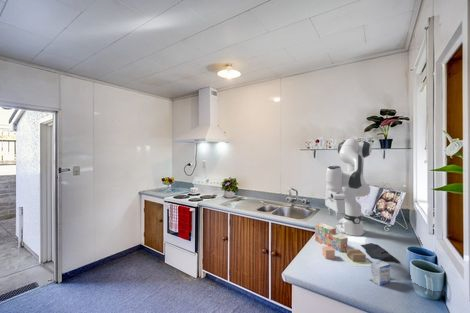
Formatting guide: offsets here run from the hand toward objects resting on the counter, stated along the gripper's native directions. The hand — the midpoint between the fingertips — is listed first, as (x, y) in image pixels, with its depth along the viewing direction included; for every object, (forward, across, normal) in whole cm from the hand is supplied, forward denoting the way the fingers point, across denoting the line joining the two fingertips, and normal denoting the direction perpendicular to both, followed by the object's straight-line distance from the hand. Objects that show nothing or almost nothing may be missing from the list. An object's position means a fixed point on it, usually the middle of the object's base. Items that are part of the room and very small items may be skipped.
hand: (334, 217), depth 128 cm
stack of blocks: (+24, -18, +4) cm, 30 cm away
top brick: (+24, 0, -3) cm, 25 cm away
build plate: (+24, +1, +12) cm, 27 cm away
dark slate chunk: (+25, -9, +29) cm, 39 cm away
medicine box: (+26, +20, +14) cm, 36 cm away
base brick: (+24, +1, +12) cm, 26 cm away
